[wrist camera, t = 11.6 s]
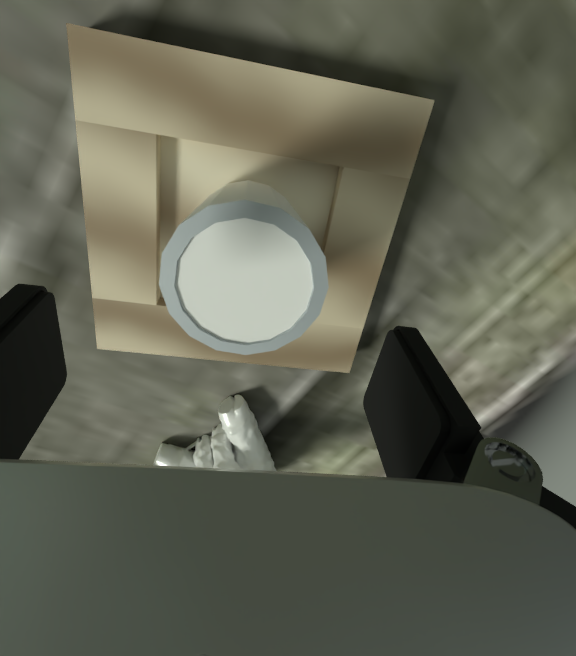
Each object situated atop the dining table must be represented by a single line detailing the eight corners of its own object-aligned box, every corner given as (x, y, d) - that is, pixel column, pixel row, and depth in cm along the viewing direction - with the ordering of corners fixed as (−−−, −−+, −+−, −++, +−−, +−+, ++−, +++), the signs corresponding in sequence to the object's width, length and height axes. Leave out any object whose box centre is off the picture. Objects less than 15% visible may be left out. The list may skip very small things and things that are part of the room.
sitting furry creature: (237, 385, 29) (227, 549, 18) (309, 444, 32) (333, 607, 22) (151, 447, 31) (100, 620, 21) (226, 495, 35) (214, 661, 25)
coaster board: (84, 29, 17) (66, 23, 16) (419, 99, 20) (434, 100, 18) (107, 331, 25) (97, 348, 24) (343, 355, 28) (349, 372, 26)
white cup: (334, 235, 22) (362, 289, 16) (248, 309, 24) (245, 381, 18) (247, 136, 19) (244, 157, 13) (158, 230, 21) (121, 285, 15)
